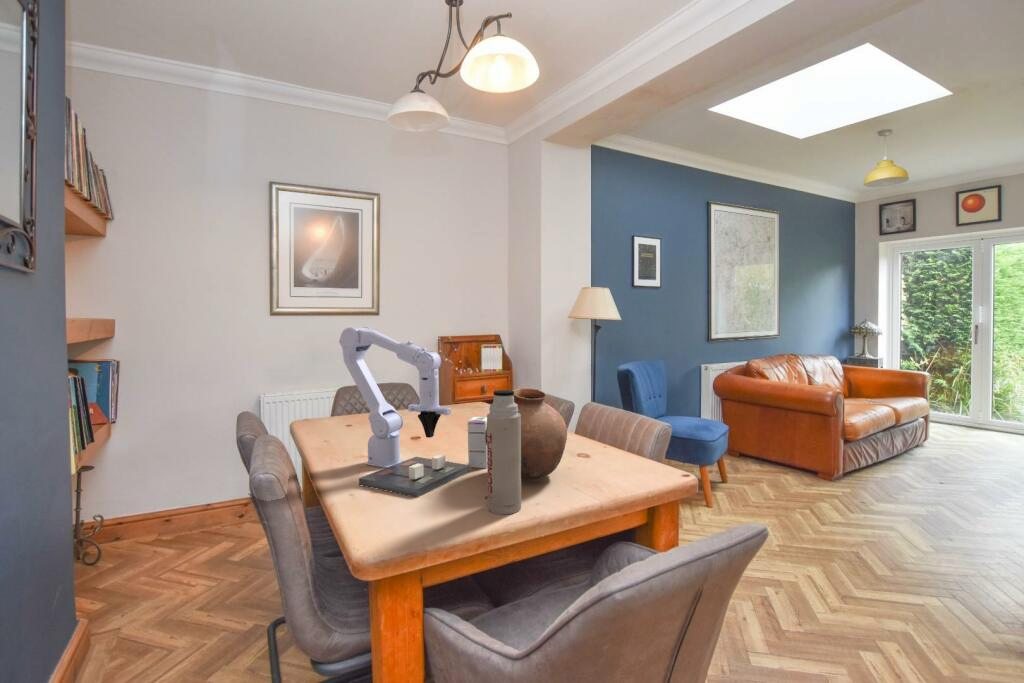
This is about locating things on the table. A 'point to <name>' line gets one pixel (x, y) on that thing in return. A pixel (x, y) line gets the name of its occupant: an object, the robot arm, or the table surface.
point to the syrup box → (477, 442)
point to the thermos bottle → (504, 454)
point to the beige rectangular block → (416, 471)
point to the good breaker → (438, 461)
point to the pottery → (539, 434)
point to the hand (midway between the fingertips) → (429, 436)
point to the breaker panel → (400, 482)
